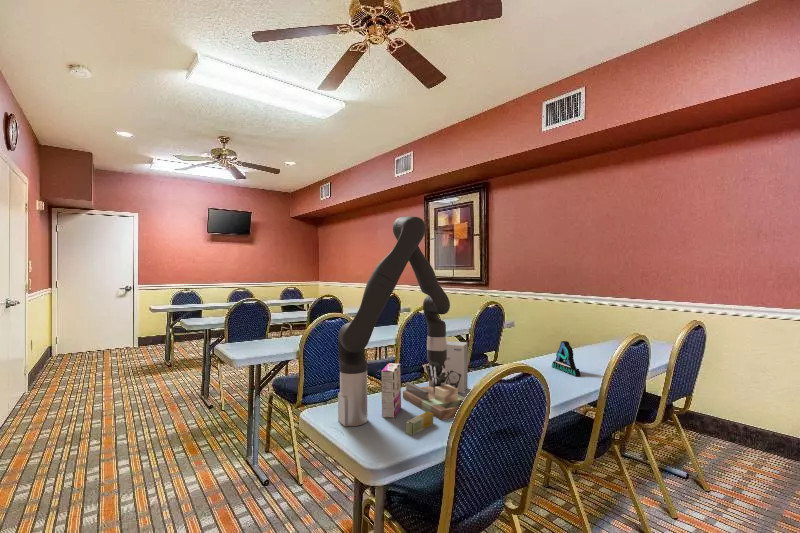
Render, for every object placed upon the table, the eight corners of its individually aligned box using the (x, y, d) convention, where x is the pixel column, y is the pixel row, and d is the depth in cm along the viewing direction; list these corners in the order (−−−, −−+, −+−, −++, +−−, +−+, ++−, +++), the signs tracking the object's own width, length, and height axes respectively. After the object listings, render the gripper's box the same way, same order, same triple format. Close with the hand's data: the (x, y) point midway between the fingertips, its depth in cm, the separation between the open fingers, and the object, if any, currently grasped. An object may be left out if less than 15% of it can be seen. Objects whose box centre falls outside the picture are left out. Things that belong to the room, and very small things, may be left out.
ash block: (444, 403, 144) (444, 391, 144) (434, 399, 149) (434, 387, 149) (457, 400, 147) (457, 388, 147) (447, 396, 152) (447, 384, 152)
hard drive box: (428, 389, 171) (427, 342, 171) (433, 384, 178) (433, 339, 178) (464, 393, 165) (463, 345, 165) (468, 388, 172) (468, 341, 172)
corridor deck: (440, 420, 136) (440, 402, 136) (402, 398, 159) (402, 383, 159) (477, 411, 144) (477, 394, 144) (436, 392, 167) (436, 377, 167)
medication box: (411, 436, 124) (412, 423, 124) (404, 434, 126) (405, 421, 126) (433, 424, 133) (433, 412, 133) (427, 422, 135) (427, 410, 135)
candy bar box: (388, 406, 150) (388, 362, 150) (401, 407, 149) (401, 363, 149) (380, 417, 139) (380, 370, 139) (395, 418, 138) (394, 371, 138)
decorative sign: (551, 367, 206) (551, 338, 206) (555, 367, 207) (555, 338, 207) (576, 377, 188) (575, 345, 188) (580, 376, 188) (580, 345, 188)
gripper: (419, 345, 156) (419, 390, 156) (438, 352, 145) (439, 399, 145) (435, 343, 160) (435, 387, 160) (455, 349, 148) (455, 396, 148)
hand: (437, 393), depth 152 cm, fingers closed
